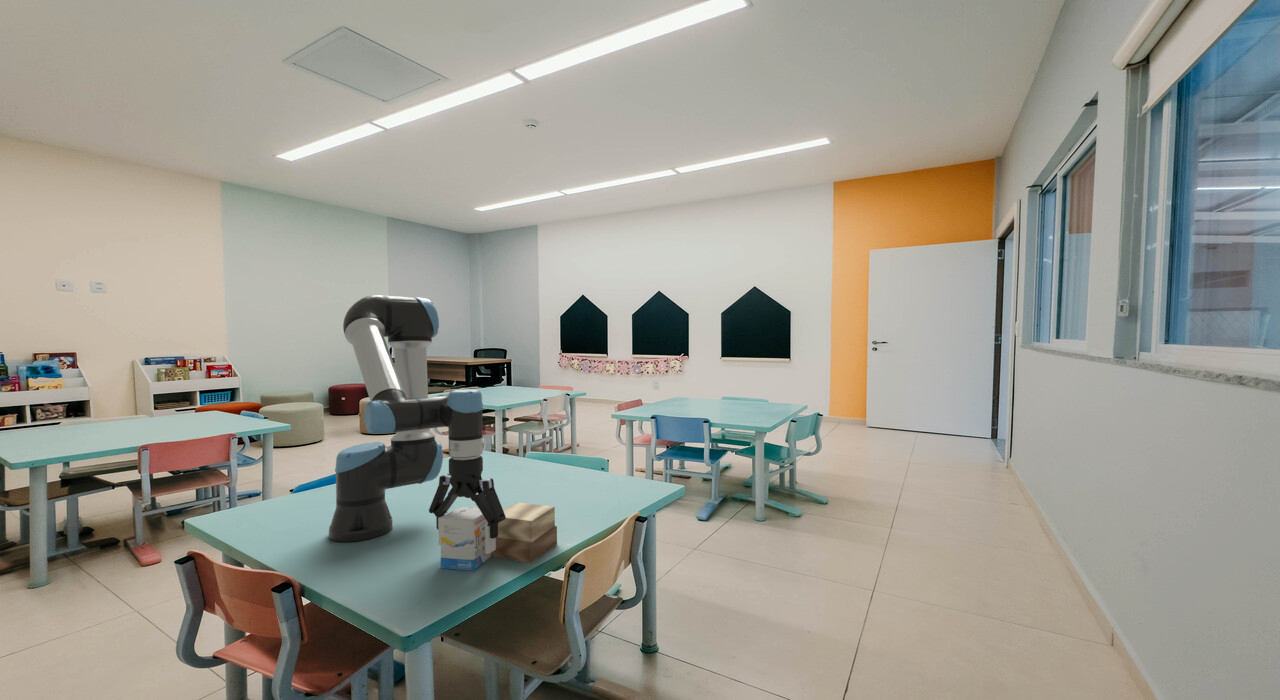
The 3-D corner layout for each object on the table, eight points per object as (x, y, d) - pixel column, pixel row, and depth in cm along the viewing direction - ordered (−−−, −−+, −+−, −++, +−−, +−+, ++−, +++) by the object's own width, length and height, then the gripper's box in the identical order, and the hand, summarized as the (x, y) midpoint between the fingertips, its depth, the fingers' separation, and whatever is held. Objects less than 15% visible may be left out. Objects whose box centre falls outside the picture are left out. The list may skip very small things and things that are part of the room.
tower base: (487, 557, 122) (487, 536, 122) (517, 539, 133) (517, 520, 133) (530, 565, 118) (529, 543, 118) (557, 545, 129) (556, 526, 129)
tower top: (491, 536, 122) (491, 515, 122) (517, 521, 132) (517, 502, 132) (531, 542, 118) (531, 520, 118) (554, 526, 129) (554, 506, 129)
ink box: (473, 571, 113) (473, 519, 113) (439, 568, 115) (439, 517, 115) (492, 556, 122) (492, 507, 122) (460, 553, 124) (460, 505, 123)
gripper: (412, 455, 119) (413, 545, 120) (500, 464, 110) (500, 561, 110) (436, 449, 126) (437, 534, 127) (520, 457, 117) (521, 549, 117)
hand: (466, 547), depth 118 cm, fingers open, 13 cm apart
